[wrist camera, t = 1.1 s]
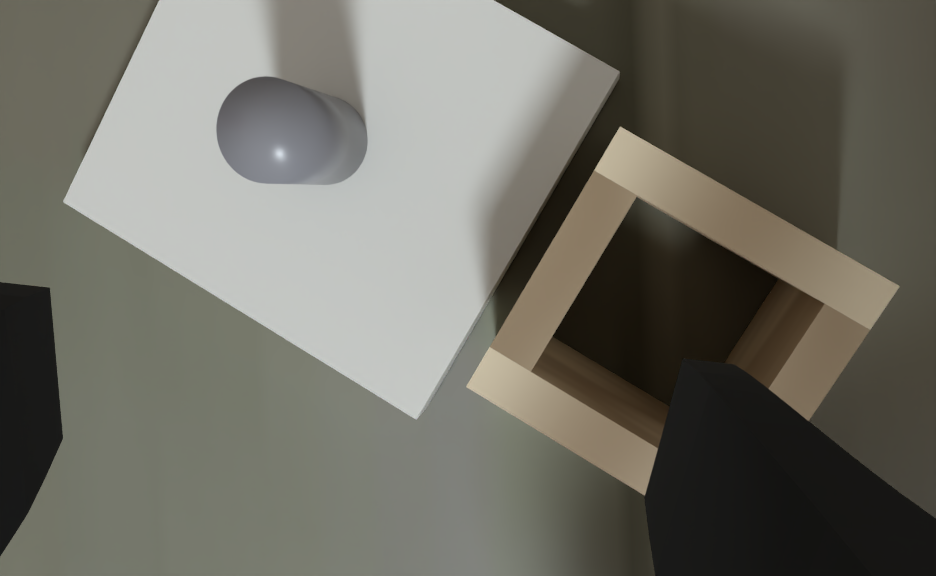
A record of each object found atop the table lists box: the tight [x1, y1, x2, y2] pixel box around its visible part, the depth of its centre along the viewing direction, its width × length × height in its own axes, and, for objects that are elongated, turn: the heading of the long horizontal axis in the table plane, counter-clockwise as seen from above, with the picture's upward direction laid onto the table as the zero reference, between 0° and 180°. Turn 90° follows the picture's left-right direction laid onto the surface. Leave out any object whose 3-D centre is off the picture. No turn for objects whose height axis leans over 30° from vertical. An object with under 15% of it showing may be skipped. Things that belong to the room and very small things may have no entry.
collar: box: [466, 127, 900, 495], centre depth 18 cm, size 6×6×4 cm
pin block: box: [63, 0, 620, 420], centre depth 19 cm, size 10×9×5 cm
